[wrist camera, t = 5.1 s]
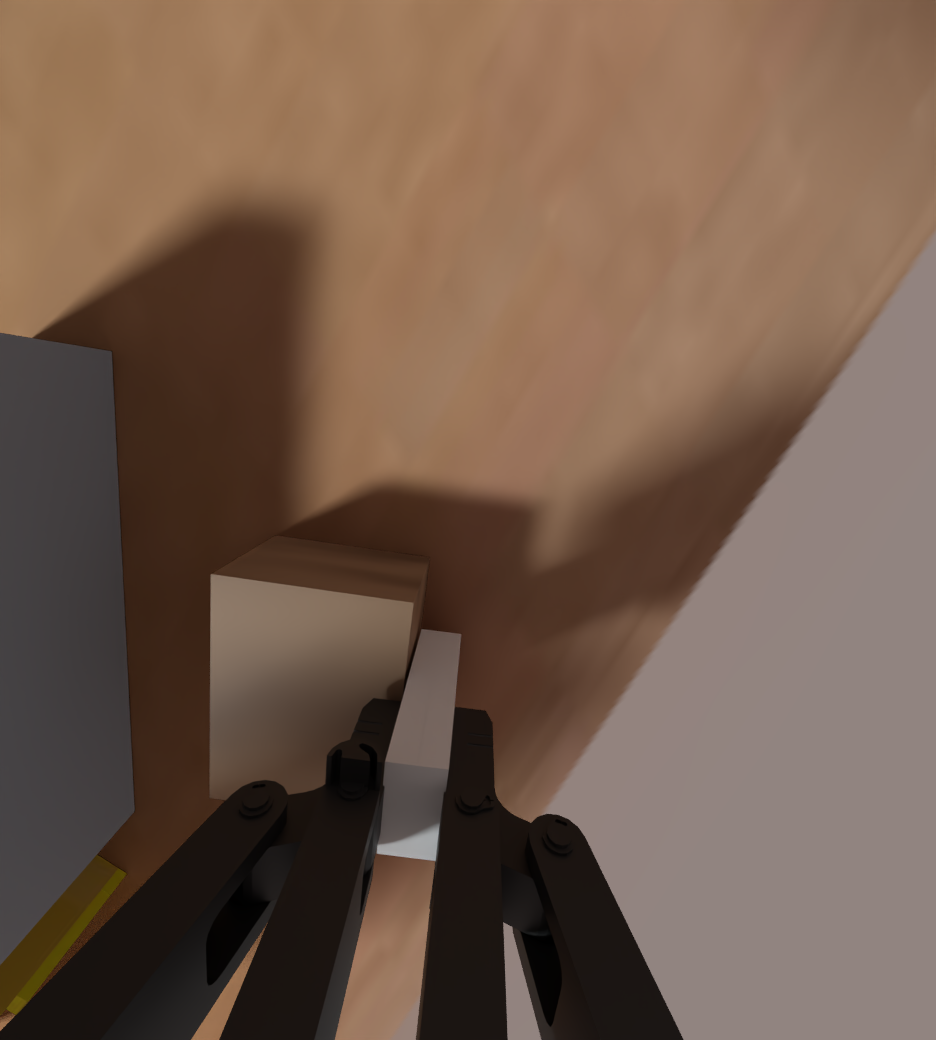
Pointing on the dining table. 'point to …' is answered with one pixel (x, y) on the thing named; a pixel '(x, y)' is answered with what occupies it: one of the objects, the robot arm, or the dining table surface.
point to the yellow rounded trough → (55, 934)
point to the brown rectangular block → (304, 654)
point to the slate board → (58, 626)
